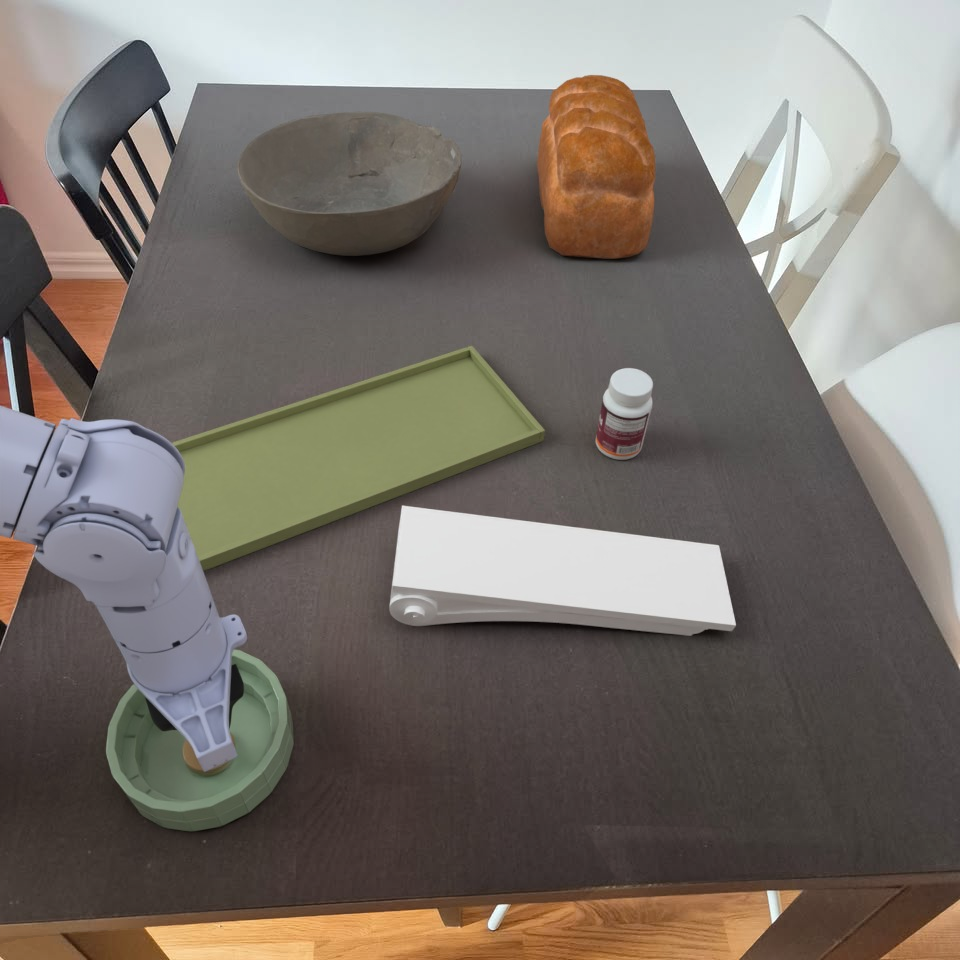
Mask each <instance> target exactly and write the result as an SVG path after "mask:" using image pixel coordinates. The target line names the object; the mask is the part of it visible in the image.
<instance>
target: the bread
mask: <svg viewBox="0 0 960 960" xmlns="http://www.w3.org/2000/svg"><path fill="white" fill-rule="evenodd" d="M548 103H549V104H548V112H549V115H547V117H546V118H545V120H544V121H542V125H541V130H540V136H539V140H538V141H539V142H538V149H537V160H536V168H537V175H538V188H539V190H538V191H539V198H540V204H541V208H542V210H543V214H544V217H543V228H544V235H545V238H546V241H547V244H548V247H549V248H550V249H552V250H553V251H555V252H556V253H557V254H559V255H561V256H564V257H566V256H567V257H574V258H588V259H590V258H591V259H604V260H607V259H608V260H609V259H610V260H611V259H612V260H613V259H624V258H630V257H633V256H637V255H639V254H640V253H641V252H642V251H644V250H645V249H646V248H647V247H648V243H649V239H650V235H651V231H652V227H653V223H654V222H653V221H654V210H655V191H654V184H655V182H656V155H655V150H654V147H653V145H652V144H651V142H650V139H649V136H648V135H649V134H648V132H647V128H646V123H645V119H644V117H643V115H642V112H641V109H640V106H639V104H638V101H637V100H636V98H635V94H634V92H633V90H632V88H630V87H629V86H628V85H627V84H626V83H625V82H624V81H621V80H620V79H618V78H615V77H611V76H607V75H600V74H587V75H583V76H581V77H580V76H579V77H572V78H570V79H567V80H565V81H564V82H563V83H561V84H560V85H559V86H558V87H556V88H555V89H554V90H552V92H551V95H550V98H549V102H548Z"/></svg>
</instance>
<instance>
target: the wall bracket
mask: <svg viewBox="0 0 960 960" xmlns="http://www.w3.org/2000/svg"><path fill="white" fill-rule="evenodd" d="M388 611H389V614H390V616H391V617H392V618H393V619H394V620H396V621H397V622H399V623H401V624H404V625H407V626H412V627H413V626H414V627H426V626H433V625H434V626H435V625H445V624H456V623H475V622H477V623H478V622H539V623H556V624H558V623H559V624H570V625H580V626H588V627H589V626H590V627H601V628H609V629H620V630H631V631H640V632H649V633H660V634H670V635H678V636H689V637H692V636H693V635H695V634H700V633H702V632H705V630H706V631H707V630H717V631H724V632H725V631H726V632H733V631H734V629H735V628H736V626H737V623H736V619H735V614H734V609H733V605H732V600H731V595H730V591H729V586H728V581H727V576H726V573H725V567H724V562H723V558H722V553H721V549H720V545H718V544H712V543H704V542H696V541H695V542H694V541H689V540H688V541H687V540H681V539H671V538H663V537H656V536H647V535H640V534H632V533H625V532H624V533H623V532H617V531H607V530H600V529H592V528H584V527H577V526H576V527H575V526H568V525H561V524H552V523H543V522H538V521H537V522H536V521H527V520H520V519H513V518H504V517H497V516H490V515H481V514H474V513H473V514H472V513H464V512H457V511H448V510H441V509H432V508H424V507H417V506H411V505H410V506H409V505H401V509H400V518H399V524H398V531H397V539H396V549H395V557H394V564H393V573H392V582H391V590H390V598H389V608H388Z"/></svg>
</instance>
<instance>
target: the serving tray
mask: <svg viewBox="0 0 960 960" xmlns="http://www.w3.org/2000/svg"><path fill="white" fill-rule="evenodd" d="M545 435H546V430H545V428H544V427H543V426H542V425H541V424H540V423H539V421H537V419H536V418H535V417H534V416H533V414H531V412H530V411H529V410H528V408H526V406H525V404H523V403H522V402H521V401H520V400H519V398H518V397H517V396H516V395H515V393H514V392H513V391H512V390H511V389H510V388H509V387H508V385H507V384H506V383H505V382H504V381H503V380H502V379H501V377H500V376H499V375H498V374H497V373H496V371H495V370H494V369H493V368H492V367H491V366H490V364H488V362H487V361H486V360H485V359H484V358H483V356H482V355H481V353H479V352H478V350H476V348H475V347H474V345H469V346H466V347H462V348H459V349H456V350H453V351H451V352H447V353H445V354H441V355H438V356H434V357H432V358H428V359H426V360H423V361H419V362H417V363H413V364H410V365H407V366H404V367H400V368H398V369H394V370H392V371H389V372H386V373H382V374H379V375H377V376H373V377H370V378H367V379H364V380H361V381H358V382H355V383H352V384H349V385H346V386H342V387H340V388H336V389H333V390H329V391H327V392H324V393H321V394H317V395H314V396H312V397H308V398H306V399H302V400H299V401H296V402H292V403H290V404H287V405H284V406H281V407H278V408H275V409H272V410H268V411H265V412H262V413H259V414H255V415H252V416H250V417H247V418H244V419H240V420H237V421H235V422H231V423H228V424H224V425H222V426H219V427H216V428H212V429H211V430H207V431H204V432H200V433H197V434H193V435H191V436H188V437H185V438H182V439H179V440H176V441H173V442H171V443H172V444H173V445H174V446H175V447H176V448H177V450H178V451H179V452H180V454H181V456H182V458H183V460H184V464H185V474H184V484H183V488H182V492H181V495H180V499H179V503H178V507H179V508H180V510H181V512H182V515H183V517H184V520H185V523H186V526H187V529H188V531H189V534H190V537H191V539H192V542H193V544H194V547H195V550H196V553H197V555H198V558H199V561H200V564H201V566H202V569H203V572H205V571H208V570H210V569H213V568H215V567H218V566H220V565H223V564H227V563H229V562H232V561H234V560H236V559H239V558H242V557H244V556H247V555H249V554H252V553H255V552H258V551H261V550H262V549H265V548H268V547H270V546H274V545H275V544H279V543H281V542H283V541H286V540H289V539H291V538H293V537H297V536H299V535H301V534H302V535H303V534H305V533H307V532H310V531H312V530H314V529H317V528H320V527H322V526H326V525H327V524H330V523H333V522H336V521H339V520H341V519H343V518H346V517H349V516H351V515H354V514H357V513H359V512H362V511H365V510H367V509H369V508H372V507H376V506H377V505H380V504H383V503H385V502H388V501H390V500H393V499H395V498H399V497H401V496H403V495H406V494H409V493H411V492H414V491H416V490H419V489H423V488H425V487H427V486H430V485H433V484H434V483H438V482H440V481H442V480H446V479H447V478H448V479H449V478H450V477H454V476H456V475H458V474H462V473H464V472H467V471H468V470H471V469H474V468H476V467H477V468H478V467H479V466H481V465H484V464H487V463H489V462H493V461H494V460H498V459H500V458H503V457H505V456H508V455H511V454H514V453H516V452H519V451H521V450H523V449H526V448H529V447H531V446H533V445H534V446H535V445H537V444H539V443H542V442H544V441H545Z"/></svg>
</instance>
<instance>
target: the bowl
mask: <svg viewBox="0 0 960 960" xmlns="http://www.w3.org/2000/svg"><path fill="white" fill-rule="evenodd" d="M236 166H237V167H236V168H237V169H236V172H237V174H238V179H239V182H240V185H241V187H242V189H243V191H244V193H245V194H246V196H247V198H248V199H249V201H250V202H251V203H252V205H253V206H254V208H255V209H256V211H257V213H258V214H259V215H260V216H261V217H262V219H263V220H265V222H266V223H267V224H268V225H269V226H271V227H272V228H273V229H274V230H275V231H276V232H277V233H279V234H280V235H281V236H283V237H284V238H285V239H287V240H289V241H290V242H292V243H294V244H296V245H298V246H300V247H303V248H306V249H308V250H311V251H315V252H318V253H322V254H323V253H324V254H329V255H334V256H335V255H336V256H347V257H348V256H349V257H351V256H352V257H355V256H356V257H357V256H371V255H377V254H382V253H386V252H391V251H394V250H397V249H399V248H402V247H404V246H406V245H408V244H410V243H411V242H413V241H415V240H416V239H418V238H419V237H421V236H422V235H423V234H424V233H425V232H427V231H428V230H429V229H430V228H431V226H432V225H433V224H434V223H435V221H436V220H437V218H438V217H439V216H440V214H441V213H442V210H443V208H444V207H445V205H446V204H447V203H448V201H449V199H450V197H451V196H452V194H453V191H454V189H455V187H456V184H457V182H458V180H459V177H460V173H461V168H462V152H461V150H460V147H458V145H457V143H456V141H454V139H452V138H449V137H448V138H445V137H444V136H443V135H442V133H441V131H440V129H439V128H437V127H434V126H432V125H423V124H421V123H417V122H415V121H413V120H410V119H407V118H405V117H403V116H399V115H395V114H389V113H384V112H376V111H342V112H334V113H325V114H311V115H307V116H304V117H300V118H296V119H293V120H290V121H287V122H283V123H280V124H278V125H276V126H275V127H272V128H270V129H269V130H267V131H265V132H263V133H261V134H259V135H257V137H255V138H253V139H252V140H251V141H250V142H248V144H246V145H245V146H244V148H243V149H242V151H241V152H240V155H239V157H238V160H237V165H236Z"/></svg>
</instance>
